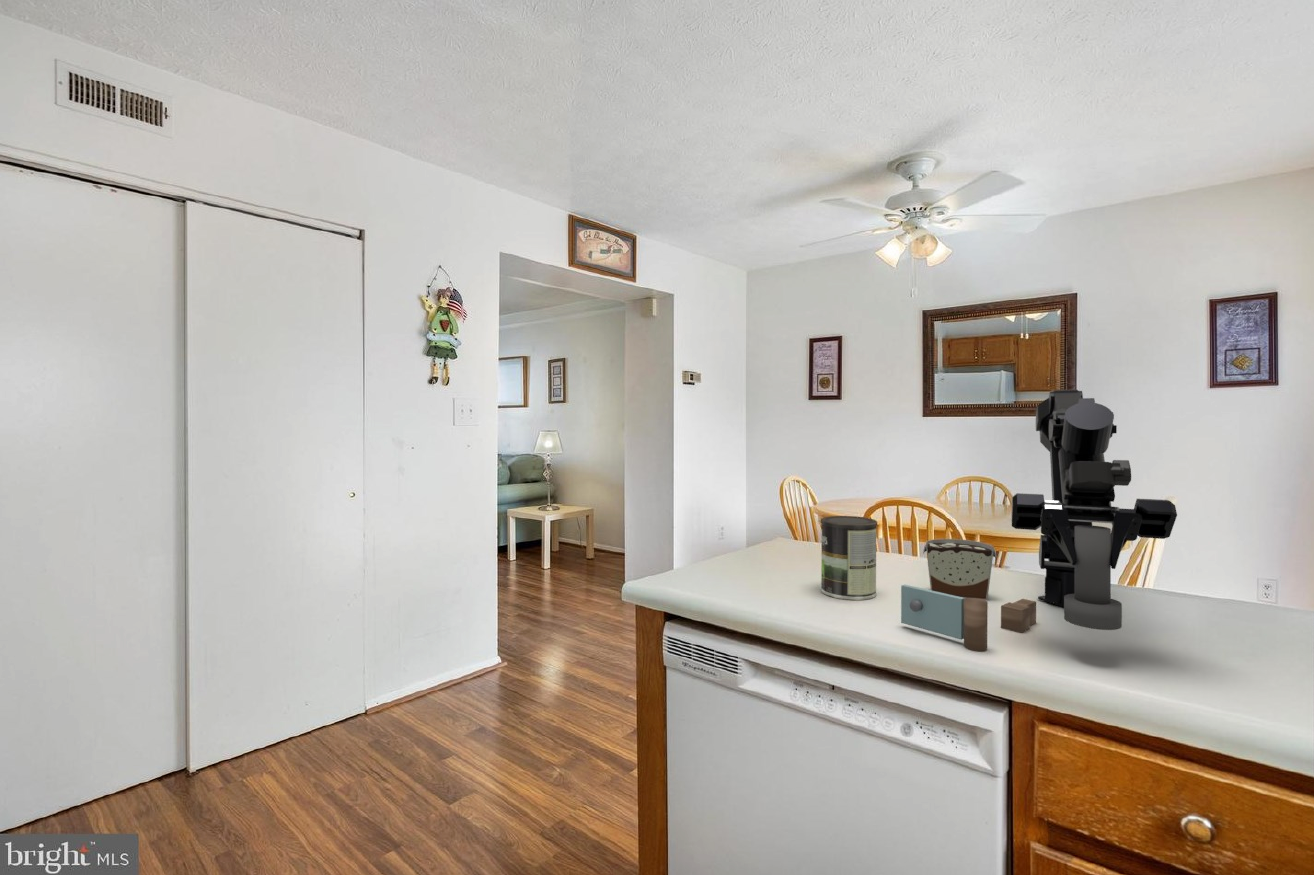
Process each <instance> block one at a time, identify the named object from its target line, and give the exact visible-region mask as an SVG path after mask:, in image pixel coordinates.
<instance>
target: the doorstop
mask: <svg viewBox="0 0 1314 875" xmlns="http://www.w3.org/2000/svg"><path fill="white" fill-rule="evenodd" d="M1111 530H1112V528H1109V527H1107V526H1102V525H1092V526H1091V525H1077V526H1075V552H1076V565H1075V586H1074V594H1067V595H1065V596H1064V607H1063V618H1064V621H1066V622H1068V623H1070V624H1072V625H1075V626H1077V627H1081V628H1087V629H1092V630H1103V631H1115V630H1119V629H1121V628H1122V627H1123V625H1122V623H1123V620H1122V619H1123V618H1122V617H1123V611H1122V610H1123V604H1122V602H1121V601H1118V600H1117V599H1114V598H1111V591H1112V590H1111V587H1112V586H1111V585H1112V584H1111V581H1112V580H1111V579H1112V578H1111V576H1112V575H1111V570H1112V568H1111Z"/></svg>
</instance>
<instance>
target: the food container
mask: <svg viewBox="0 0 1314 875" xmlns="http://www.w3.org/2000/svg"><path fill="white" fill-rule="evenodd" d="M925 552H926V558H927V567H928V576H929V586H930V590H932V591H936V592H940V593H945V594H949V595H954V596H958V597H963V598H978V599H983V600H986V601H987V602H988V599H989V598H988V597H989V591H990V590H989V589H990V582H991V573H992V565H993V558H995V559H997V557H998V556H997V553H996V552H997V551H996V550H995V549H994V545H991V544H989V543H985V542H982V541H976V540H969V539H961V538H959V539H958V538H957V539H956V538H935V539H930V540H927V541H926V542H925V544H924V548H923V551H922V554H925Z"/></svg>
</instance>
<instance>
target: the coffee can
mask: <svg viewBox="0 0 1314 875" xmlns="http://www.w3.org/2000/svg"><path fill="white" fill-rule="evenodd" d="M820 523H821V565H820V566H821V567H820V568H821V572H820V573H821V576H820V579H821V587H820V592H821V593H822V594H823V595H825V596H827V597H832V598H834V599H839V600H846V601H865V600H866V601H867V600H871V599H874V598H875V597H876V596H877V526H878V521H877V520H876V519H873V518H869V517H864V516H854V515H830V516H824V517H821V519H820Z"/></svg>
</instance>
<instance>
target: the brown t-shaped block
mask: <svg viewBox="0 0 1314 875" xmlns="http://www.w3.org/2000/svg"><path fill="white" fill-rule="evenodd" d="M988 604H989V603H988V600H987V601H986V600H983V599H978V598H965V599H964V639H963V647H964V648H965V649H967V650H970V651H974V652H986V651H987V650H988V615H989V614H988V608H989V607H988ZM1036 623H1037V601H1036V600H1030V599H1027V598H1022V599H1019V600H1017V601H1015V602H1007V603H1005V604H1002V605H1001V606H1000V628H1001V629H1005V630H1008V631H1013V632H1016V633H1020V634H1021V633H1022V634H1023V633H1024V632H1026V631H1028V630H1030V628H1031V626H1033V625H1035V624H1036Z"/></svg>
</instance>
